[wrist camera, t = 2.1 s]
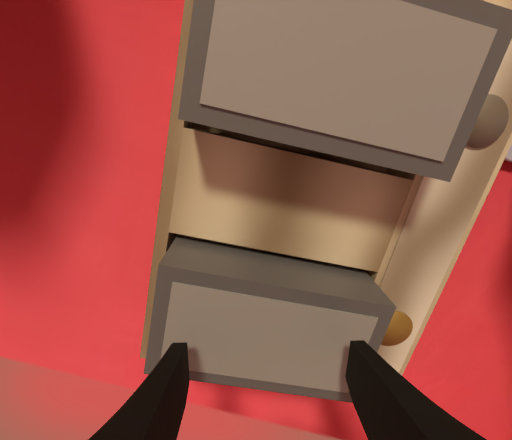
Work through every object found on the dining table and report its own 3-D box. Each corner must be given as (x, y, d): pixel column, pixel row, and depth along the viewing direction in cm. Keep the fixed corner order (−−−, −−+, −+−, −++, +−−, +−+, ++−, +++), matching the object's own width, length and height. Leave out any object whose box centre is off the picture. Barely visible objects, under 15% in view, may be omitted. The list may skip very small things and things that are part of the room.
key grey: (451, 43, 13) (525, 11, 10) (403, 170, 15) (452, 182, 11) (216, -25, 12) (204, -88, 8) (194, 121, 14) (176, 118, 10)
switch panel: (495, 42, 16) (578, 13, 12) (368, 349, 22) (394, 396, 18) (210, -42, 14) (197, -108, 10) (159, 315, 21) (138, 360, 17)
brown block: (365, 271, 16) (397, 308, 13) (335, 353, 18) (356, 404, 15) (177, 235, 15) (157, 265, 12) (163, 326, 17) (143, 375, 14)
